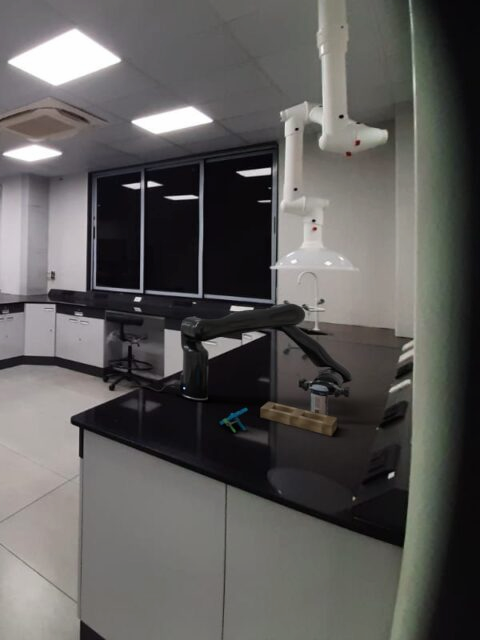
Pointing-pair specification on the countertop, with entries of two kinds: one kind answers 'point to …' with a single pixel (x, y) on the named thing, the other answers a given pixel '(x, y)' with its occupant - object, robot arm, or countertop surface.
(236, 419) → the blue-green rod frame
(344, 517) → the countertop surface
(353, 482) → the countertop surface
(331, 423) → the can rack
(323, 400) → the beer can
